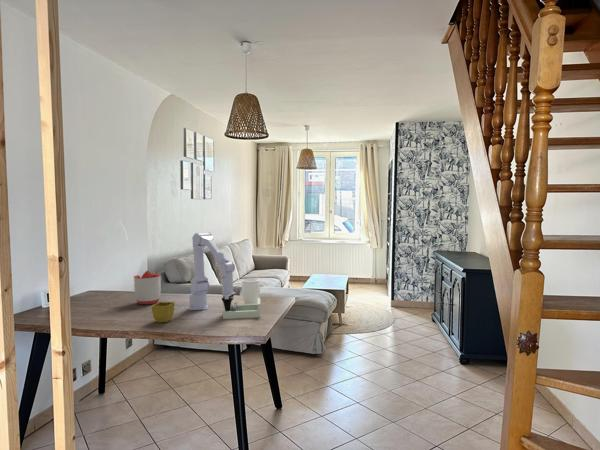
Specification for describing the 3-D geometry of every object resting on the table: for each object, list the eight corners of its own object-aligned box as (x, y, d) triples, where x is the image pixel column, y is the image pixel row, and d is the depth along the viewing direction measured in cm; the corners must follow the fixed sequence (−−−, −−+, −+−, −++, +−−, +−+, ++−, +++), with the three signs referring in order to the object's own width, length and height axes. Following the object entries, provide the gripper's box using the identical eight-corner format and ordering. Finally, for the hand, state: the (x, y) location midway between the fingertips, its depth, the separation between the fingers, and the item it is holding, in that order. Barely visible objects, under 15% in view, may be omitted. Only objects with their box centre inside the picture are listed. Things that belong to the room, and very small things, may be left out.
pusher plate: (233, 316, 209) (233, 307, 209) (234, 311, 220) (234, 302, 219) (236, 316, 209) (235, 307, 209) (237, 311, 220) (237, 302, 220)
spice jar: (222, 315, 211) (221, 298, 210) (223, 313, 217) (223, 296, 216) (233, 315, 211) (232, 298, 211) (234, 312, 217) (233, 295, 217)
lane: (222, 318, 206) (222, 305, 206) (225, 311, 221) (225, 299, 221) (260, 317, 208) (260, 304, 208) (260, 310, 223) (260, 297, 223)
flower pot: (151, 323, 200) (150, 305, 200) (159, 318, 209) (159, 301, 208) (167, 323, 199) (167, 306, 198) (175, 319, 208) (175, 302, 207)
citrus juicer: (154, 298, 257) (153, 267, 256) (165, 302, 245) (165, 270, 244) (129, 302, 247) (128, 270, 246) (140, 307, 234) (139, 273, 233)
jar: (261, 302, 241) (261, 278, 240) (258, 307, 230) (257, 281, 230) (244, 302, 242) (244, 278, 241) (240, 306, 231) (239, 281, 231)
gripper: (234, 286, 206) (234, 312, 207) (235, 281, 221) (236, 306, 221) (220, 287, 206) (221, 313, 206) (223, 282, 220) (223, 306, 221)
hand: (228, 309), depth 214 cm, fingers closed on spice jar, 5 cm apart
